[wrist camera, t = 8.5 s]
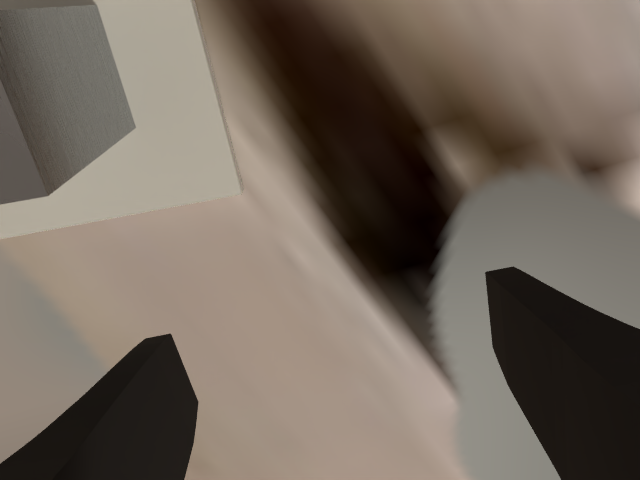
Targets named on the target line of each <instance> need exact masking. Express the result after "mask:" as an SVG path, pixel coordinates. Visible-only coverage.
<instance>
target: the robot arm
mask: <svg viewBox="0 0 640 480" xmlns="http://www.w3.org/2000/svg"><path fill="white" fill-rule="evenodd" d="M485 274H486V285H487V294H488V305H489V315H490V325H491V334H492V345H493V349H494V352H495V354H496V357H497V359H498V362H499V365H500V367H501V369H502V372H503V374H504V377H505V379H506V381H507V384H508V386H509V388H510V390H511V391H512V393H513V395H514V397H515V399H516V401H517V402H518V404H519V406H520V408H521V409H522V411H523V413H524V415H525V417H526V418H527V420H528V422H529V424H530V425H531V427H532V429H533V430H534V432H535V434H536V436H537V437H538V439H539V441H540V443H541V444H542V446H543V448H544V450H545V451H546V453H547V455H548V456H549V458H550V460H551V462H552V464H553V465H554V467H555V469H556V471H557V472H558V474H559V476H560V478H561V480H640V329H638V328H635V327H633V326H630V325H628V324H626V323H623V322H621V321H619V320H617V319H614V318H612V317H610V316H608V315H605V314H603V313H601V312H599V311H597V310H594V309H593V308H591V307H588V306H586V305H584V304H582V303H580V302H578V301H576V300H575V299H573V298H571V297H569V296H567V295H565V294H563V293H561V292H559V291H558V290H556V289H554V288H552V287H550V286H548V285H546V284H544V283H543V282H541V281H539V280H537V279H536V278H534V277H532V276H530V275H529V274H527V273H525V272H523V271H521V270H519V269H517V268H515V267H509V268H503V269H498V270H493V271H489V272H486V273H485ZM197 410H198V400H197V398H196V395H195V393H194V390H193V388H192V385H191V383H190V380H189V378H188V375H187V373H186V370H185V368H184V365H183V363H182V360H181V358H180V355H179V353H178V350H177V348H176V345H175V343H174V340H173V338H172V335H171V334H166V335H161V336H156V337H151V338H146V339H144V340H143V341H142V342H141V343H139V344H138V345H137V346H136V347H135V348H133V349H132V350H131V351H130V352H129V353H128V354H127V355H126V356H125V357H124V358H122V359H121V360H120V361H119V362H118V363H117V364H116V365H115V366H114V367H113V368H112V369H111V370H110V371H109V372H108V373H107V374H106V375H104V376H103V377H102V378H101V379H100V380H99V381H98V382H97V383H96V384H95V385H94V386H93V387H92V388H91V389H90V390H89V391H88V392H86V394H85V395H83V396H82V397H81V398H80V399H79V400H78V401H77V402H75V403H74V404H73V405H72V406H71V407H70V408H69V409H67V410H66V411H65V412H64V413H63V414H62V415H61V416H59V417H58V418H57V419H56V420H55V421H54V422H53V423H51V424H50V425H49V426H48V427H47V428H46V429H45V430H43V431H42V432H41V433H40V434H38V435H37V436H36V437H35V438H33V439H32V440H31V441H30V442H28V443H27V444H26V445H25V446H23V447H22V448H21V449H19V450H18V451H17V452H15V453H14V454H13V455H11V456H10V457H9V458H7V459H6V460H5V461H3V462H2V463H1V464H0V480H184V478H185V474H186V470H187V467H188V463H189V459H190V455H191V451H192V447H193V443H194V436H195V428H196V420H197Z"/></svg>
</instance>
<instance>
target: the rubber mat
mask: <svg viewBox="0 0 640 480" xmlns="http://www.w3.org/2000/svg"><path fill="white" fill-rule="evenodd" d="M85 5H97V6H98V10H99V13H100V16H101V19H102V22H103V25H104V28H105V32H106V35H107V38H108V41H109V44H110V47H111V50H112V54H113V57H114V60H115V63H116V66H117V69H118V72H119V76H120V79H121V82H122V85H123V88H124V91H125V94H126V98H127V101H128V104H129V107H130V110H131V113H132V116H133V120H134V123H135V126H136V128H135V129H134V130H133V131H131V132H130V133H129V134H127V135H126V136H125V137H124V138H122V139H121V140H120V141H118V142H117V143H116V144H115V145H113V146H112V147H111V148H109V149H108V150H107V151H106V152H104V153H103V154H102V155H100V156H99V157H98V158H97V159H95V160H94V161H93V162H91V163H90V164H89V165H88V166H86V167H85V168H84V169H82V170H81V171H80V172H79V173H77V174H76V175H75V176H73V177H72V178H71V179H70V180H68V181H67V182H66V183H64V184H63V185H62V186H61V187H59V188H58V189H57V190H55V191H54V192H53V193H52V194H50V195H49V196H47V197H41V198H35V199H29V200H24V201H18V202H12V203H7V204H1V205H0V239H4V238H9V237H15V236H20V235H26V234H31V233H36V232H42V231H47V230H53V229H58V228H63V227H69V226H74V225H80V224H85V223H91V222H96V221H101V220H107V219H112V218H118V217H123V216H128V215H134V214H139V213H145V212H150V211H155V210H161V209H166V208H172V207H177V206H182V205H188V204H193V203H199V202H204V201H209V200H215V199H220V198H226V197H231V196H236V195H242V193H243V190H244V189H243V185H242V181H241V177H240V173H239V169H238V166H237V162H236V158H235V154H234V150H233V146H232V143H231V139H230V135H229V131H228V127H227V123H226V119H225V116H224V112H223V108H222V104H221V100H220V96H219V93H218V89H217V85H216V81H215V77H214V73H213V70H212V66H211V62H210V58H209V54H208V50H207V47H206V43H205V39H204V35H203V31H202V27H201V24H200V20H199V16H198V12H197V8H196V4H195V0H0V10H11V9H29V8H48V7H66V6H85Z"/></svg>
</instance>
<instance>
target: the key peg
mask: <svg viewBox="0 0 640 480" xmlns="http://www.w3.org/2000/svg"><path fill="white" fill-rule="evenodd" d="M135 128H136V126H135V123H134V120H133V116H132V113H131V110H130V107H129V104H128V101H127V98H126V94H125V91H124V88H123V85H122V82H121V79H120V76H119V72H118V69H117V66H116V63H115V60H114V57H113V54H112V50H111V47H110V44H109V41H108V38H107V35H106V32H105V28H104V25H103V22H102V19H101V16H100V13H99V10H98V6H97V5H85V6H66V7H48V8H29V9H11V10H0V205H1V204H7V203H12V202H18V201H24V200H29V199H35V198H41V197H47V196H49V195H50V194H52V193H53V192H54V191H55V190H57V189H58V188H59V187H61V186H62V185H63V184H64V183H66V182H67V181H68V180H70V179H71V178H72V177H73V176H75V175H76V174H77V173H79V172H80V171H81V170H82V169H84V168H85V167H86V166H88V165H89V164H90V163H91V162H93V161H94V160H95V159H97V158H98V157H99V156H100V155H102V154H103V153H104V152H106V151H107V150H108V149H109V148H111V147H112V146H113V145H115V144H116V143H117V142H118V141H120V140H121V139H122V138H124V137H125V136H126V135H127V134H129V133H130V132H131V131H133V130H134V129H135Z"/></svg>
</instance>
